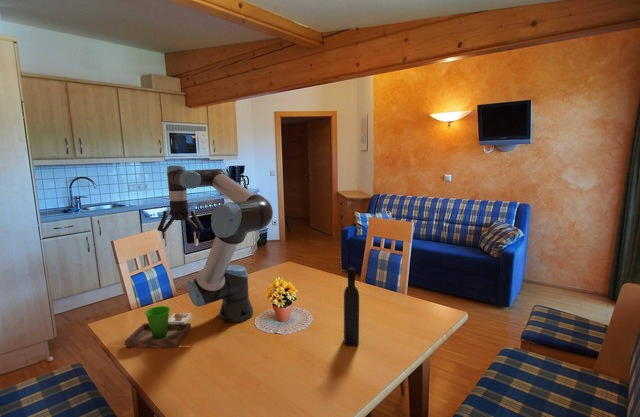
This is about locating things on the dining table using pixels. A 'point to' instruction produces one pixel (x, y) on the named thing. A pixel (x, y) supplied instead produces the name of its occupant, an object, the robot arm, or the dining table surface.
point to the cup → (158, 321)
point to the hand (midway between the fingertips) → (181, 245)
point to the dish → (183, 320)
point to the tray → (146, 340)
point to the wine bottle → (351, 310)
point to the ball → (178, 316)
